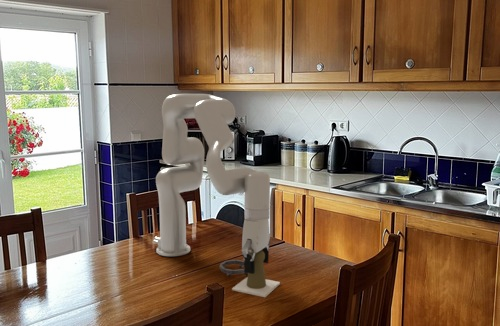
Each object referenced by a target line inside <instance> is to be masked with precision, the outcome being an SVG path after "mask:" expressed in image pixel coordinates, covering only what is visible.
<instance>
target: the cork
mask: <svg viewBox="0 0 500 326" xmlns="http://www.w3.org/2000/svg"><path fill="white" fill-rule="evenodd" d="M248 254H250V256H251V255H252V253H248ZM264 259H265V253H264V252H263V251H262V250H260V251H259V252H257V253H255V256H254V261H255V273H254V274H250V273H248V274H247V277H248V278H247V277H246V278H247V286H248V287H249V288H253V289H260V288H264V287H265V286H266V280H265V279H266V274H265V273H266V272H265V266H264V264H265V263H263V261H264Z"/></svg>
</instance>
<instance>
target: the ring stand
mask: <svg viewBox="0 0 500 326" xmlns="http://www.w3.org/2000/svg"><path fill="white" fill-rule="evenodd" d="M229 265H239V269H230V268H226V267H227V266H229ZM243 266H244V260H239V259H229V260H225V261H223V262H221V263H220V264H219V270H220V271H221V273H224V274H226V277H227V278H228V277H230V276H231V275H240V274H245V275H248V273H245V272H244V268H243Z"/></svg>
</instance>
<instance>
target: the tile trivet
mask: <svg viewBox="0 0 500 326" xmlns="http://www.w3.org/2000/svg"><path fill="white" fill-rule="evenodd" d="M247 278H248V276H247V277H245V278H244V279H242V280H241V281H240V282H238V283H237V284H235V286H233V287H232V288H231V291H233V292H234V291H235V292H239V293H242V294H249V295H253V296H257V297H262V298H266V297H267V296H268V295H270V293H272V291H274V290H275V289H277V287H279V286H280V285H281V281H276V280H272V279H267V278H265V280H266V286H265V287H264V288H260V289H253V288H249V287H248V286H247Z"/></svg>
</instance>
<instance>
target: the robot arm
mask: <svg viewBox="0 0 500 326" xmlns="http://www.w3.org/2000/svg"><path fill="white" fill-rule="evenodd" d="M161 118H162V122H163V132H162V147H161V157H162V161H163V163H165V164H166V165H168V166H173V167H166V168H163V169H161V170H159V171H158V173H157V174H156V176H155V185H156V189H157V195H158V204H159V205H158V206H159V235H160V236H155V237H154V239H153V241H152V244H155V245H157V247H156V249H155V251H156V253H157V254H158V255H159V256H163V257H180V256H184V255H187V254H189V253H190V252H191V246H190V245H188V244H187V226H186V225H187V222H186V221H187V219H186V217H187V216H186V214H187V213H186V203H185V200H184V199H183V197H182V196H181V193H184V192H185V193H186V192H190V191H195V190H197V189H198V188H200V187H201V185H202V181H203V173H204V164H206V165H205V166H206V168H205V169H206V173H207V175H208V177H209V179H210V182H211V183H212V186H213V187H214V189H215V190H216V191H217V192H218V193H219V194H220V195H222V196H232V195H236V194H242V193H244V222H243V226H242V227H243V228H242V238H241V239H242V240H241V241H242V242H241V253H242V257H243V261H244V265H243V267H244V268H243V269H244V272H245V273H250V274H254V273H255V261H254V256H255V253H257V252H259V251H260V250H262V251H263V252H264V253H265V259H264V261H263V264H268V263H269V261H270V260H269V256H270V254H269V253H270V252H269V250H270V239H271V233H270V221H269V220H270V212H271V211H270V199H271V198H270V196H271V194H270V193H271V192H270V190H271V189H270V187H271V184H270V183H271V182H270V181H271V176H270V175H269V173H267V172H264V171H257V170H255V169H253V168H250V167H239V168H234V169H226V168H225V166H224V164H223V162H222V158H221V153H222V151H224V150H225V149H226V148H228V147H229V146H230V145H232V143H233V140H234V134H233V133H232V131H231V129H230V127H229V124H232V123H233V122H234V120H235V118H236V108H235V106H234V104H233V103H232V102H231V101H230V100H228V99H226V98H224V97H219V96H217V95H212V94H210V93H209V94H208V93H176V94H171V95H168V96H167V97H166V98H165V99H164V100H163V103H162V106H161ZM185 119H195V120H196V122H197V124H198V127H199V129H200V131H201V133H202V135H203V137H204V140H205V141H206V144H207V146H208V151H207V154H206V159H205V148H204V145H203V142H202V141H201V140H200V139H199V138H197V137H194V136H193V137H192V136H191V137H189V136H188V133H189V132H188V130H189V129H188V124H187V123H186V121H185ZM205 160H206V161H205ZM184 164H185V165H184ZM177 165H182V166H177ZM248 253H252V255H251V256H250V254H248ZM245 273H244V274H245Z"/></svg>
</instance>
